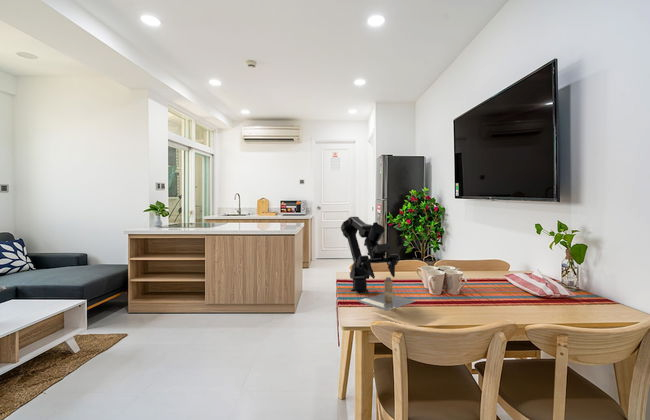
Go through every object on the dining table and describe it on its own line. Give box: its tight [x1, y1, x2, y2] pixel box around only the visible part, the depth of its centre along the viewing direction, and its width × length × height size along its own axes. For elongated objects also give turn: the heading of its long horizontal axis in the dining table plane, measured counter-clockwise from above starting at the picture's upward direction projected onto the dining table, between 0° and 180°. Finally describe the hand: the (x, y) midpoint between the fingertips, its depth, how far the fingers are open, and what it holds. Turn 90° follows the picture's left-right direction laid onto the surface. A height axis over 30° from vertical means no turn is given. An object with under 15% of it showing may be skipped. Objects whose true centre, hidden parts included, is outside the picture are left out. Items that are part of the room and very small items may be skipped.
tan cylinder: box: [383, 277, 393, 308], centre depth 136 cm, size 4×4×12 cm
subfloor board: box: [356, 293, 417, 312], centre depth 145 cm, size 17×20×1 cm
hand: (384, 277), depth 140 cm, fingers open, 9 cm apart
